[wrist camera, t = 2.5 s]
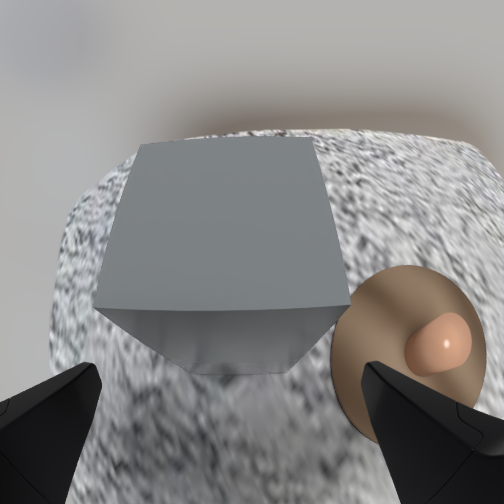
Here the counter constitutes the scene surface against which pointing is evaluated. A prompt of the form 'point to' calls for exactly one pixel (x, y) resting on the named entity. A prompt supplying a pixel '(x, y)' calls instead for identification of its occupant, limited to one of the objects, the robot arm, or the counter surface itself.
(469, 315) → the plate
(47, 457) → the robot arm
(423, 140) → the counter surface
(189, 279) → the grey tall block
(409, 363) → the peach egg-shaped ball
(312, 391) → the counter surface
